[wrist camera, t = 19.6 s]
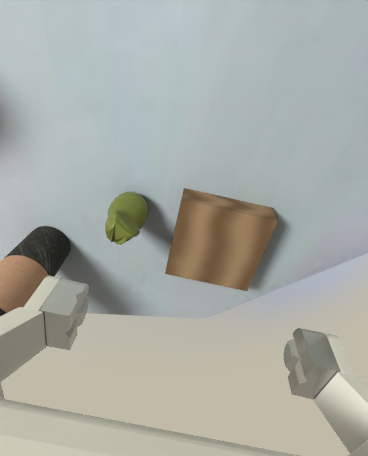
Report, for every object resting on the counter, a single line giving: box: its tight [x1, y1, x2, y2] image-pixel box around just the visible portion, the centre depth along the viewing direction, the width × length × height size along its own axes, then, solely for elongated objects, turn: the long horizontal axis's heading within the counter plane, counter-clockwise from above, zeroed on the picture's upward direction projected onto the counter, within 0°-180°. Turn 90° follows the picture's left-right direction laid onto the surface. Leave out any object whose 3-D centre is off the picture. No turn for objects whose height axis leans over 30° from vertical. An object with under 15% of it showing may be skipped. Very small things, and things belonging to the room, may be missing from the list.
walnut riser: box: [165, 188, 278, 291], centre depth 47 cm, size 14×14×4 cm
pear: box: [106, 192, 148, 244], centre depth 42 cm, size 6×5×10 cm
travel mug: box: [0, 226, 70, 316], centre depth 44 cm, size 8×8×20 cm
